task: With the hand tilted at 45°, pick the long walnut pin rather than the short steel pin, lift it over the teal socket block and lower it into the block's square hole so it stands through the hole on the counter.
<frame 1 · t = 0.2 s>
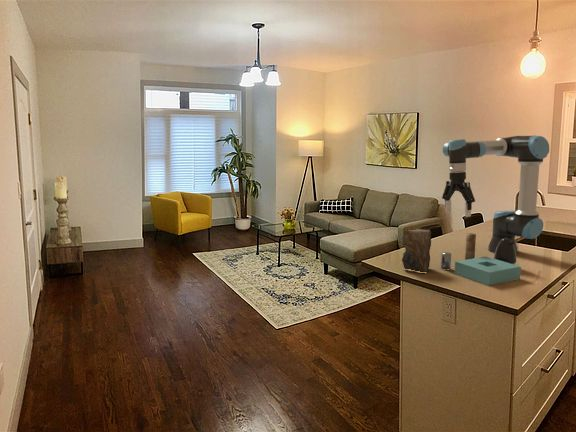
hand: (458, 214, 223), 27 cm above the counter, tool pointing down, fingers open, 13 cm apart
long walnut pin: (469, 264, 233), on the counter
socket block: (486, 276, 213), on the counter
short steel pin: (445, 268, 226), on the counter
rough brown stone: (418, 270, 224), on the counter
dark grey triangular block: (504, 268, 226), on the counter
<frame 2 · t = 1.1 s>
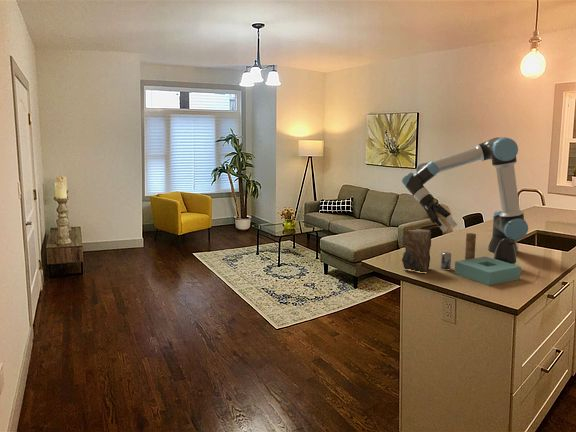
hand: (450, 228, 236), 18 cm above the counter, tool tilted 45°, fingers open, 13 cm apart
nothing on the counter moved.
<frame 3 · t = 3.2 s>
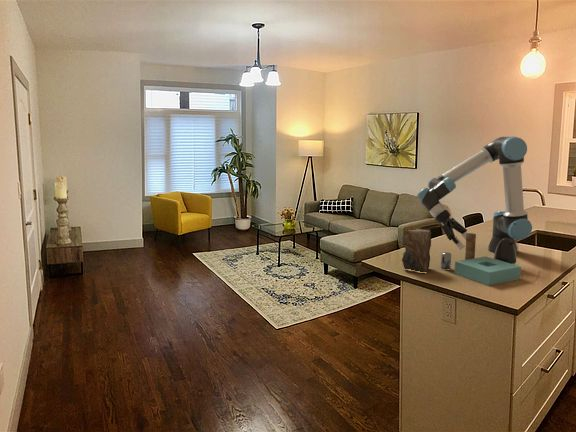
hand: (467, 245, 231), 10 cm above the counter, tool tilted 45°, fingers open, 13 cm apart
nothing on the counter moved.
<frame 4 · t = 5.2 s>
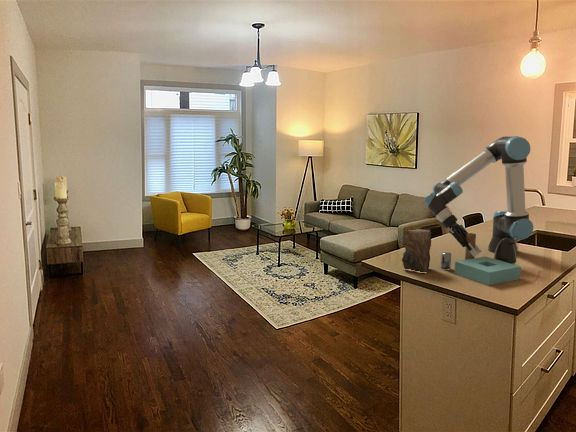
hand: (477, 253, 229), 6 cm above the counter, tool tilted 45°, fingers closed on long walnut pin, 4 cm apart
long walnut pin: (469, 264, 233), on the counter, touching gripper
everything else where it was.
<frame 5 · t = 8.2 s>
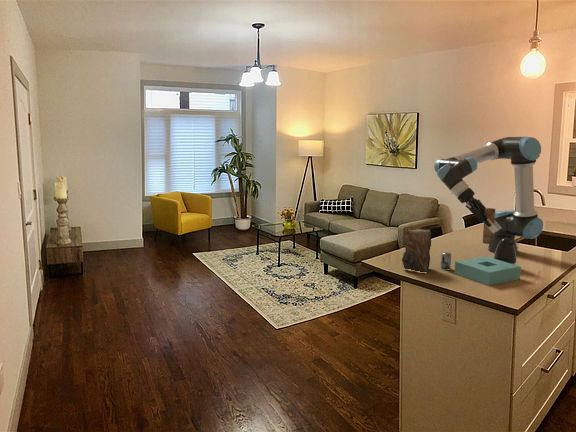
hand: (497, 230, 207), 22 cm above the counter, tool tilted 45°, fingers closed on long walnut pin, 4 cm apart
long walnut pin: (487, 242, 211), point 16 cm above the counter, touching gripper
everything else where it was.
when the fingers open (9 cm above the counter, at t = 11.7 s): long walnut pin drops 2 cm, resting in socket block.
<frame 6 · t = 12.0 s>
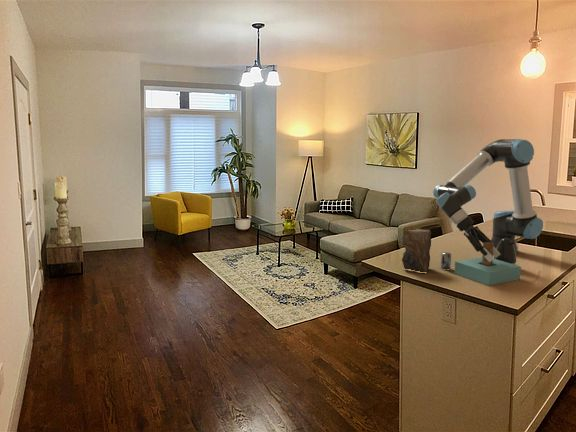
hand: (495, 258, 210), 9 cm above the counter, tool tilted 45°, fingers open, 9 cm apart
long walnut pin: (486, 276, 213), resting in socket block
everything else where it was.
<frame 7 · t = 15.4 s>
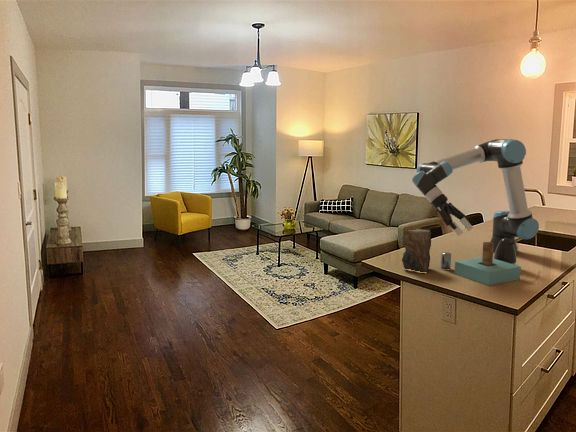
hand: (466, 231, 216), 20 cm above the counter, tool tilted 45°, fingers open, 13 cm apart
nothing on the counter moved.
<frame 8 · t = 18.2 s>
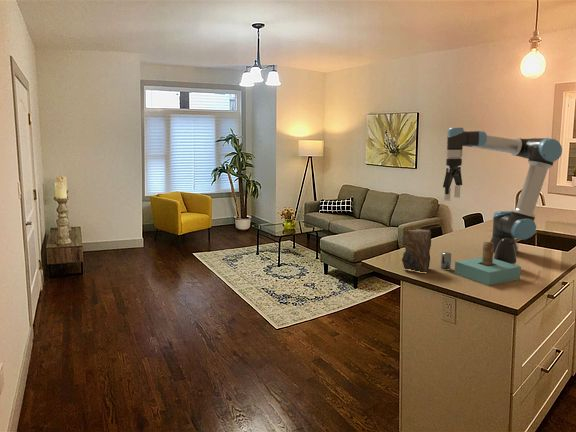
hand: (452, 199, 237), 33 cm above the counter, tool pointing down, fingers open, 13 cm apart
nothing on the counter moved.
at the end: long walnut pin 0.1 cm off-centre on the socket block, point 0.0 cm above the socket block's base; long walnut pin tilted 0°; short steel pin moved 0.0 cm from its start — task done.
